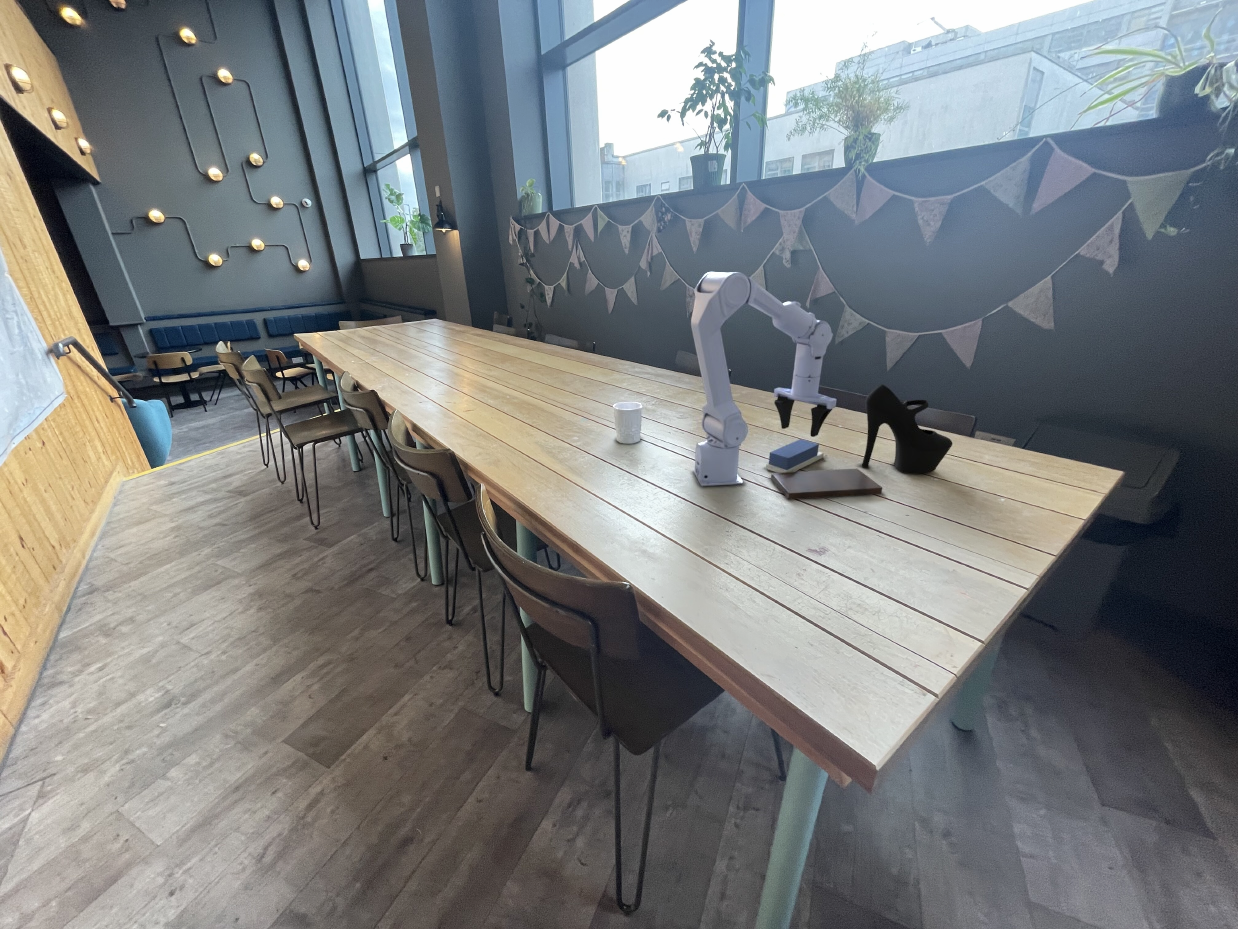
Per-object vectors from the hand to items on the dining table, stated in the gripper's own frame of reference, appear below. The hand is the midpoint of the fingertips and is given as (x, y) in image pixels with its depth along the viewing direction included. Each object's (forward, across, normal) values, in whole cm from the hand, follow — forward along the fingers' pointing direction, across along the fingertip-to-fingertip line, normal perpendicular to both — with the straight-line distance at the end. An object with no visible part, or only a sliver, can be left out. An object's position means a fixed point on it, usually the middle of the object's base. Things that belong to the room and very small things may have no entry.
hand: (799, 431), depth 111 cm
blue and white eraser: (+8, 0, 0) cm, 8 cm away
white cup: (+8, +40, +19) cm, 46 cm away
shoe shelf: (+8, -11, +7) cm, 15 cm away
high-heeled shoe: (+8, -18, -15) cm, 24 cm away
